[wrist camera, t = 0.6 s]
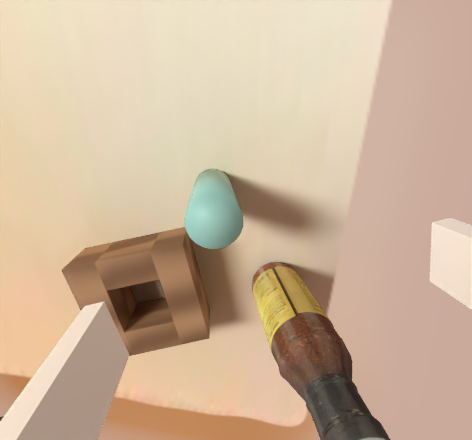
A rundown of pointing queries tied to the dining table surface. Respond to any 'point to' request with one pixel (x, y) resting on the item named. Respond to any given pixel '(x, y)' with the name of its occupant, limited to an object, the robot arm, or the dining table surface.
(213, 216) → the dowel
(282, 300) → the sauce bottle
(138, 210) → the dining table surface
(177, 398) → the dining table surface
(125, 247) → the socket block
